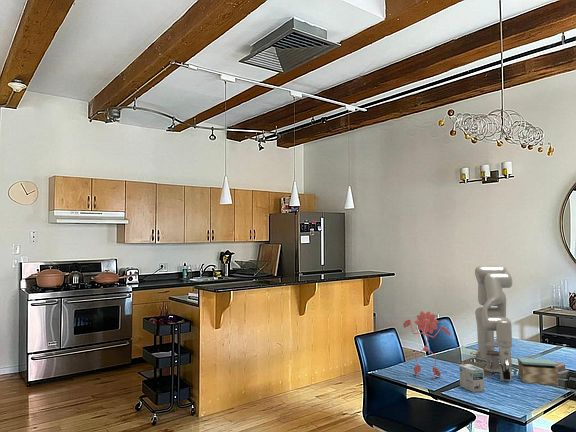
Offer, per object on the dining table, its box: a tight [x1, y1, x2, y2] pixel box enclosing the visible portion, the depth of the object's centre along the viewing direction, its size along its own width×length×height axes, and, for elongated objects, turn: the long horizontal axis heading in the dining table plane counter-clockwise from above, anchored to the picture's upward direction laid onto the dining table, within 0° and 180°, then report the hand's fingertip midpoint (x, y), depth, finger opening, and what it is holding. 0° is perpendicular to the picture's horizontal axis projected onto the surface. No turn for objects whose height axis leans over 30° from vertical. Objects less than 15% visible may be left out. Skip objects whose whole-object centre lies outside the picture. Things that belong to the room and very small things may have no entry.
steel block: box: [499, 366, 512, 382], centre depth 241 cm, size 5×5×6 cm
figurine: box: [402, 310, 451, 380], centre depth 251 cm, size 15×26×35 cm, turn 59°
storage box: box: [517, 359, 559, 386], centre depth 240 cm, size 16×14×8 cm
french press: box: [483, 331, 501, 373], centre depth 260 cm, size 10×12×25 cm
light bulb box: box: [458, 363, 486, 393], centre depth 227 cm, size 11×7×11 cm, turn 17°
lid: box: [517, 357, 558, 366], centre depth 240 cm, size 16×14×1 cm
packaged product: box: [554, 361, 570, 376], centre depth 253 cm, size 18×5×10 cm
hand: (505, 376), depth 241 cm, fingers open, 9 cm apart
